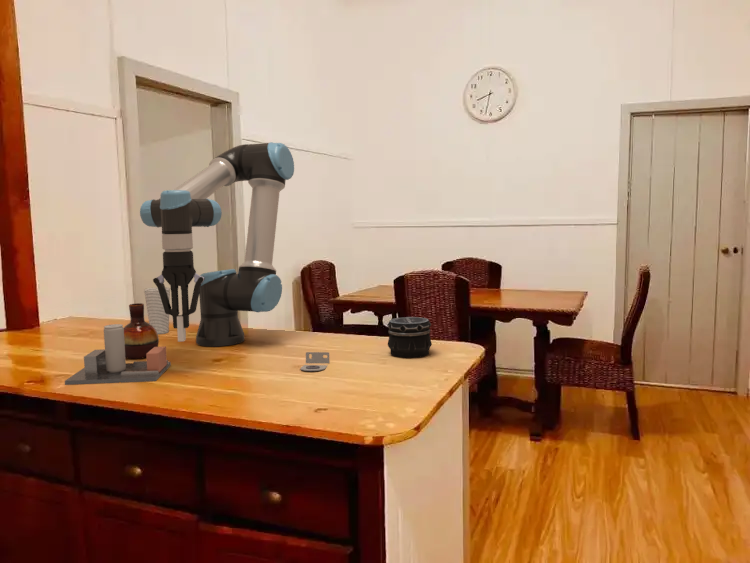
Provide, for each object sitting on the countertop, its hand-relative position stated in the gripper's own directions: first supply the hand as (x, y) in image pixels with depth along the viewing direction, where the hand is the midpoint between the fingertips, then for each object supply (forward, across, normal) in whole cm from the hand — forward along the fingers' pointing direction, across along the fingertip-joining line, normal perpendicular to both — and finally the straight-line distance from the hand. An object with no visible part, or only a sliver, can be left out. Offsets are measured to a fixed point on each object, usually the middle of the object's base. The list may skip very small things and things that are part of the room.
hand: (181, 340), depth 165 cm
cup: (+8, +20, -56) cm, 61 cm away
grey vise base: (+9, +17, 0) cm, 19 cm away
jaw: (+7, +7, 0) cm, 10 cm away
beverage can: (+8, +17, -1) cm, 19 cm away
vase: (+9, +17, -22) cm, 29 cm away
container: (+8, -62, -12) cm, 63 cm away
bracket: (+9, -35, 0) cm, 36 cm away
